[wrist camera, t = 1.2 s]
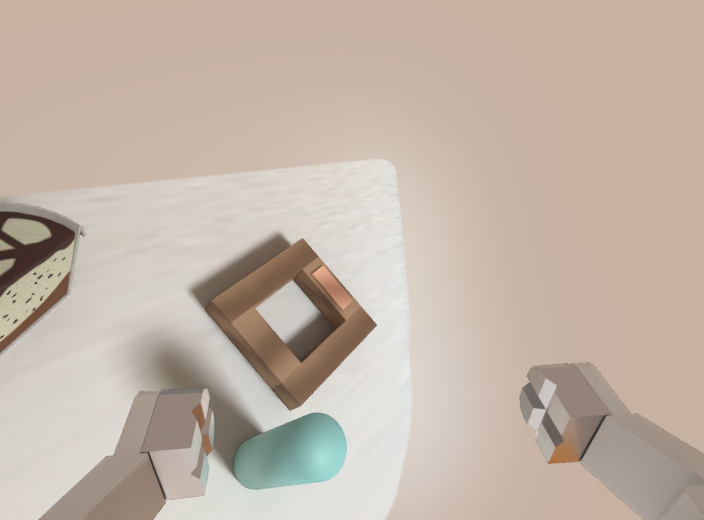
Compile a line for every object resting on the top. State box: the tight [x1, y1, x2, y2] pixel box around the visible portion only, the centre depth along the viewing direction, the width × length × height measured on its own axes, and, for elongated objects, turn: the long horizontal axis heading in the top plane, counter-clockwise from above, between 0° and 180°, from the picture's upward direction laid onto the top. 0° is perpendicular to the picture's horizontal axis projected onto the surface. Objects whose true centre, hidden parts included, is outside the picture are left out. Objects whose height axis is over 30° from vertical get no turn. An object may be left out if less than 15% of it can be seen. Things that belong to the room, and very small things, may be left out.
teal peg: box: [233, 413, 347, 490], centre depth 32 cm, size 4×4×12 cm
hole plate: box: [206, 238, 377, 411], centre depth 42 cm, size 12×12×3 cm
